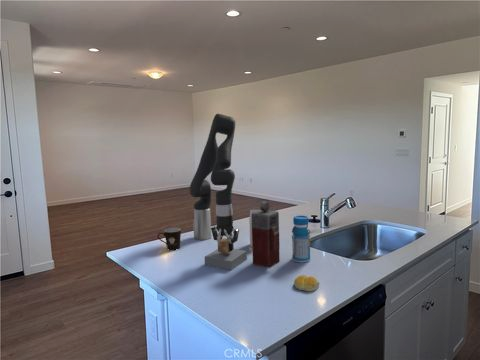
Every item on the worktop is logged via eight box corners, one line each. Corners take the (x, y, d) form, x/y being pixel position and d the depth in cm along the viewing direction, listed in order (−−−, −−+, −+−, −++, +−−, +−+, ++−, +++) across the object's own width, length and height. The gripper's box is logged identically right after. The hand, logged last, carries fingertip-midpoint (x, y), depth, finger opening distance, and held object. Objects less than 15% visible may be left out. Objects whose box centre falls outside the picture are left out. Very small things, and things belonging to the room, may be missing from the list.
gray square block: (204, 265, 148) (204, 256, 147) (221, 255, 160) (221, 247, 159) (231, 270, 141) (231, 261, 140) (246, 259, 153) (246, 251, 152)
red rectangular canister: (274, 269, 141) (272, 205, 137) (252, 263, 147) (250, 202, 144) (284, 262, 148) (283, 201, 144) (263, 257, 154) (261, 199, 151)
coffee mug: (185, 246, 174) (184, 228, 173) (175, 252, 166) (174, 233, 165) (167, 244, 179) (166, 226, 178) (157, 249, 171) (156, 230, 170)
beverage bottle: (299, 264, 145) (299, 220, 142) (288, 258, 152) (287, 216, 150) (314, 260, 148) (314, 217, 146) (302, 255, 156) (302, 213, 153)
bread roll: (299, 280, 129) (298, 270, 129) (321, 285, 124) (321, 275, 124) (290, 288, 122) (290, 278, 122) (313, 294, 117) (313, 283, 117)
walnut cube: (218, 252, 149) (217, 241, 148) (223, 248, 153) (223, 238, 152) (227, 253, 146) (227, 242, 145) (233, 250, 150) (232, 239, 150)
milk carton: (263, 247, 168) (262, 211, 165) (250, 247, 169) (249, 211, 167) (265, 243, 175) (264, 208, 172) (252, 243, 176) (251, 208, 174)
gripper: (206, 214, 148) (208, 250, 150) (233, 216, 141) (235, 255, 143) (215, 210, 154) (217, 245, 156) (242, 213, 147) (243, 249, 149)
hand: (225, 249), depth 149 cm, fingers closed on walnut cube, 5 cm apart
